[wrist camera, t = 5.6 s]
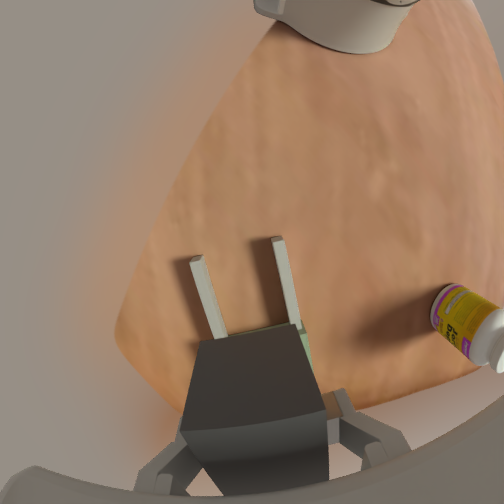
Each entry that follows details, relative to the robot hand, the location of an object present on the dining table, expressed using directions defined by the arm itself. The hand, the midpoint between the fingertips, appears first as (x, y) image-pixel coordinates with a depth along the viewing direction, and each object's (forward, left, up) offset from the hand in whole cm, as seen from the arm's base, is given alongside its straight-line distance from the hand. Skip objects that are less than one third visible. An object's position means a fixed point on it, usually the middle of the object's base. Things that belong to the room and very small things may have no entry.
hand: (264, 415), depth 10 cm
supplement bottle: (+10, +24, -17) cm, 31 cm away
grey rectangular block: (0, 0, -2) cm, 2 cm away
